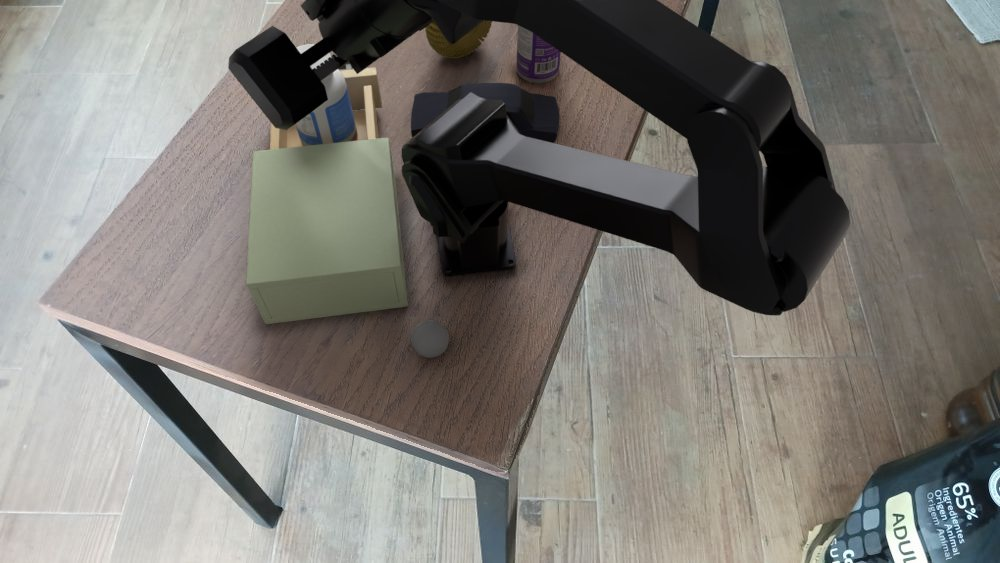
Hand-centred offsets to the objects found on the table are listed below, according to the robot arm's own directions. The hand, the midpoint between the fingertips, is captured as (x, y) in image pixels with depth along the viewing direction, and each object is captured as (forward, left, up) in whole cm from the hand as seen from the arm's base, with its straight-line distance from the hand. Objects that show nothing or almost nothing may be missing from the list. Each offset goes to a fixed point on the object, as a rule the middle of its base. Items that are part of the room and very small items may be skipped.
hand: (311, 61), depth 62 cm
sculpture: (+14, -14, -12) cm, 23 cm away
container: (+10, -22, -12) cm, 27 cm away
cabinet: (-11, 0, -11) cm, 16 cm away
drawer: (+2, 0, -11) cm, 11 cm away
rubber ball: (-23, -7, -10) cm, 26 cm away
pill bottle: (0, 0, -10) cm, 10 cm away
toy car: (+1, -15, -12) cm, 19 cm away
